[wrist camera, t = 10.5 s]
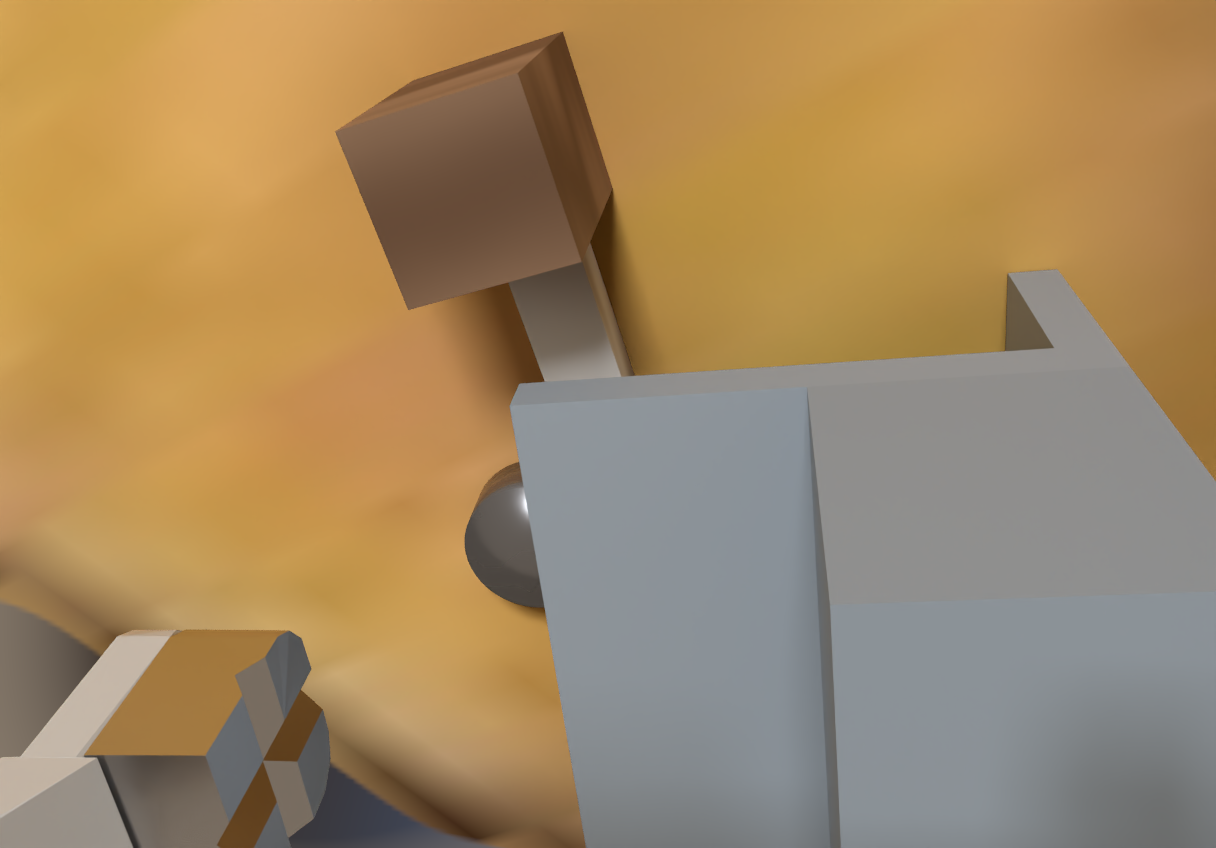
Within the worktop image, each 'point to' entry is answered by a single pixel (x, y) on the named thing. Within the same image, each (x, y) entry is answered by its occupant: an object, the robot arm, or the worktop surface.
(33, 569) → the worktop surface
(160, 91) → the worktop surface
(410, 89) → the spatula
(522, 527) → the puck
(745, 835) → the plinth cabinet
